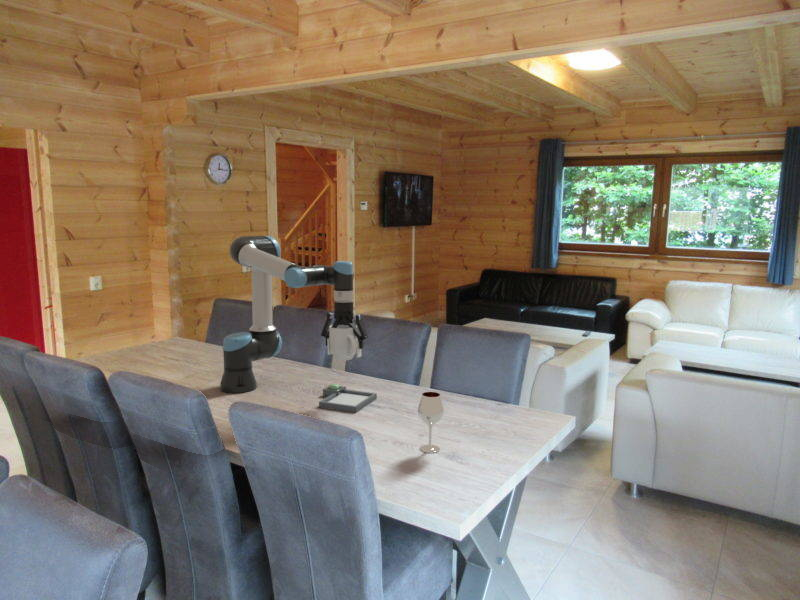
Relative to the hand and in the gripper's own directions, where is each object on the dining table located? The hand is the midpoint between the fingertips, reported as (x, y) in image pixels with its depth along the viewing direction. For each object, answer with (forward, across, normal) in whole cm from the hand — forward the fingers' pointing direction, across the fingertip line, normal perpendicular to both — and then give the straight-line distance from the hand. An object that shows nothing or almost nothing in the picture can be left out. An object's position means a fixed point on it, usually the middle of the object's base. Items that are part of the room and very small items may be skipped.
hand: (344, 355), depth 229 cm
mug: (+2, 0, 0) cm, 2 cm away
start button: (+17, -9, +8) cm, 21 cm away
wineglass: (+20, +46, -31) cm, 59 cm away
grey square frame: (+19, -9, +8) cm, 22 cm away
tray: (+19, +1, +1) cm, 19 cm away
